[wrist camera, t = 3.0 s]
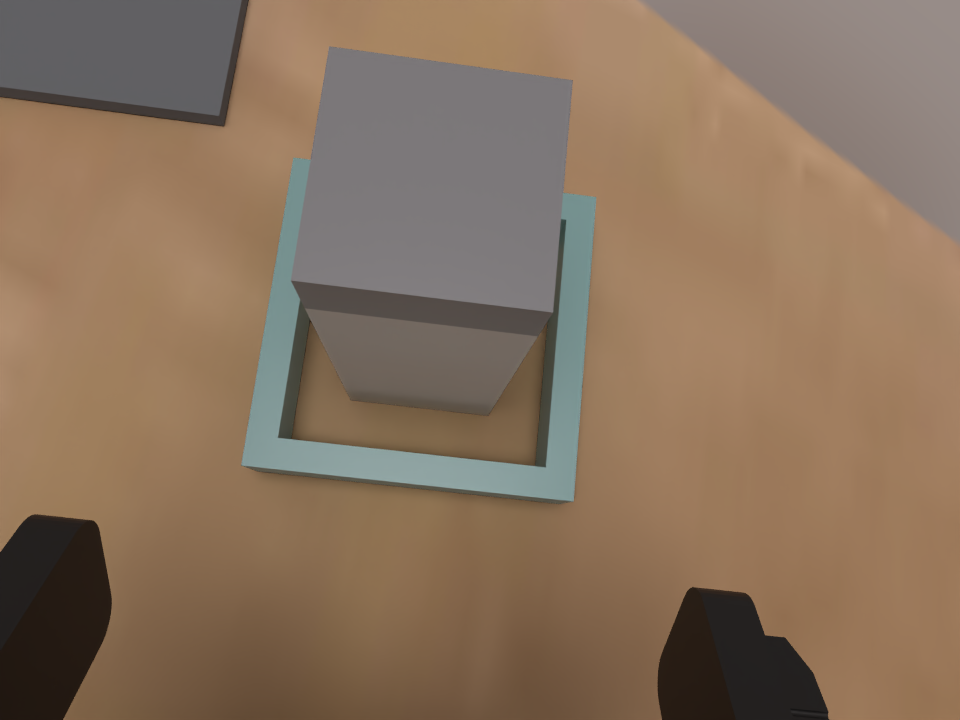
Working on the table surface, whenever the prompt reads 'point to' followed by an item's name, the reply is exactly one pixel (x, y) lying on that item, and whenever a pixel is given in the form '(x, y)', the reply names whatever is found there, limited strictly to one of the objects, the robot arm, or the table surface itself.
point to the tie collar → (538, 483)
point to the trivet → (123, 55)
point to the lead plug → (431, 226)
